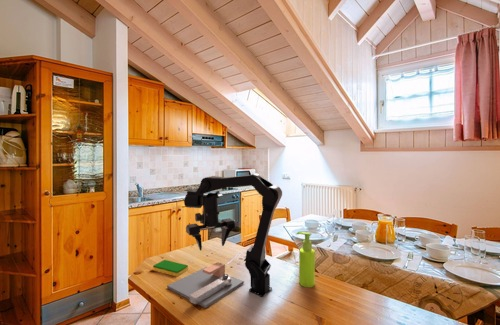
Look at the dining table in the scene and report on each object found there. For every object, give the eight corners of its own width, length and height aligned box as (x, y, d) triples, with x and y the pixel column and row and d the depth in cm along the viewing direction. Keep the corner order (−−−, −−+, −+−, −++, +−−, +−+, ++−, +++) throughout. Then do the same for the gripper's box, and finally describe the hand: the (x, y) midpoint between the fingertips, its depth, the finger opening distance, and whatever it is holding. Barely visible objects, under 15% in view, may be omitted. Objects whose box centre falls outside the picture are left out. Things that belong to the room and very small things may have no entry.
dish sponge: (177, 277, 107) (177, 271, 107) (152, 271, 113) (152, 265, 113) (188, 270, 114) (188, 265, 114) (164, 264, 120) (164, 259, 120)
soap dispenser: (299, 277, 106) (300, 229, 105) (316, 282, 102) (316, 231, 102) (294, 284, 101) (294, 233, 100) (311, 288, 97) (312, 236, 96)
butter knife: (243, 253, 130) (238, 252, 131) (213, 278, 106) (207, 276, 107) (243, 255, 130) (238, 253, 132) (213, 279, 106) (207, 277, 107)
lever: (225, 278, 102) (225, 270, 102) (234, 282, 99) (234, 274, 99) (187, 300, 88) (187, 291, 88) (197, 305, 85) (197, 296, 85)
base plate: (243, 283, 101) (243, 281, 101) (205, 308, 85) (205, 305, 85) (206, 268, 114) (206, 266, 114) (167, 288, 98) (167, 285, 98)
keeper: (224, 274, 107) (224, 264, 106) (209, 283, 100) (209, 272, 100) (217, 271, 109) (217, 262, 109) (202, 279, 102) (202, 269, 102)
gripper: (224, 202, 113) (225, 238, 114) (181, 207, 104) (183, 246, 105) (235, 207, 103) (236, 245, 104) (189, 213, 95) (190, 255, 95)
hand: (211, 247), depth 102 cm, fingers open, 9 cm apart
